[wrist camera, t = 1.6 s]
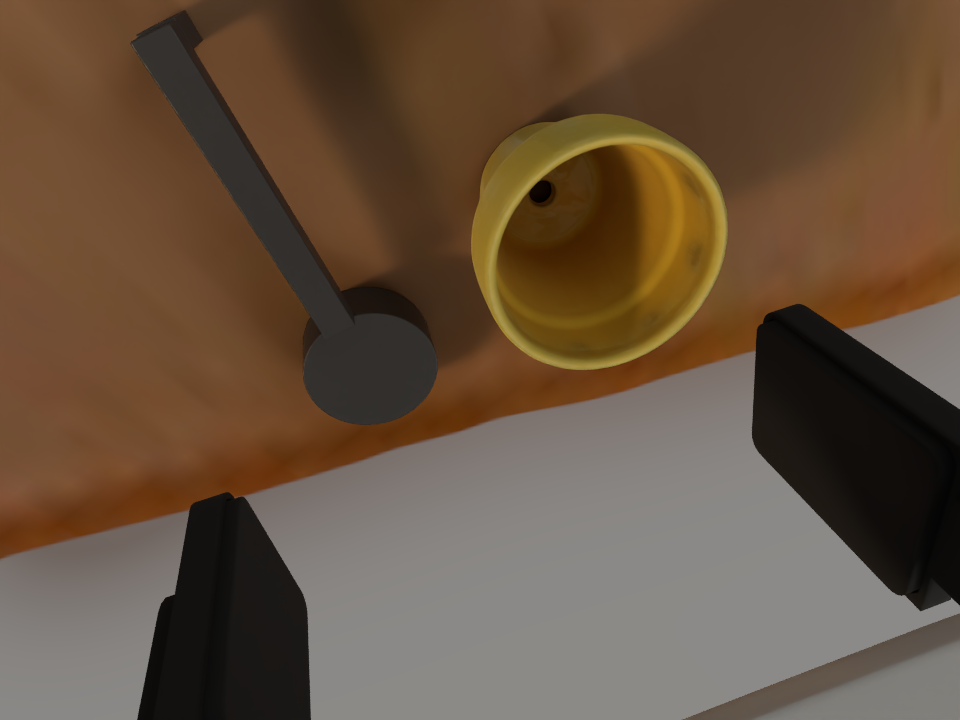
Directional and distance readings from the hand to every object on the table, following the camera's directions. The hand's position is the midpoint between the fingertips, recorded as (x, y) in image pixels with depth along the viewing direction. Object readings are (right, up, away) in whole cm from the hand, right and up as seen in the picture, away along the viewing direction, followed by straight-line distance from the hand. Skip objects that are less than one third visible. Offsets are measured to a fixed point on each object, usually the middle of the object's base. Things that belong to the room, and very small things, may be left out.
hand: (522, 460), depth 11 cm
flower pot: (+2, +11, +23) cm, 25 cm away
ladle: (-10, +8, +21) cm, 24 cm away
